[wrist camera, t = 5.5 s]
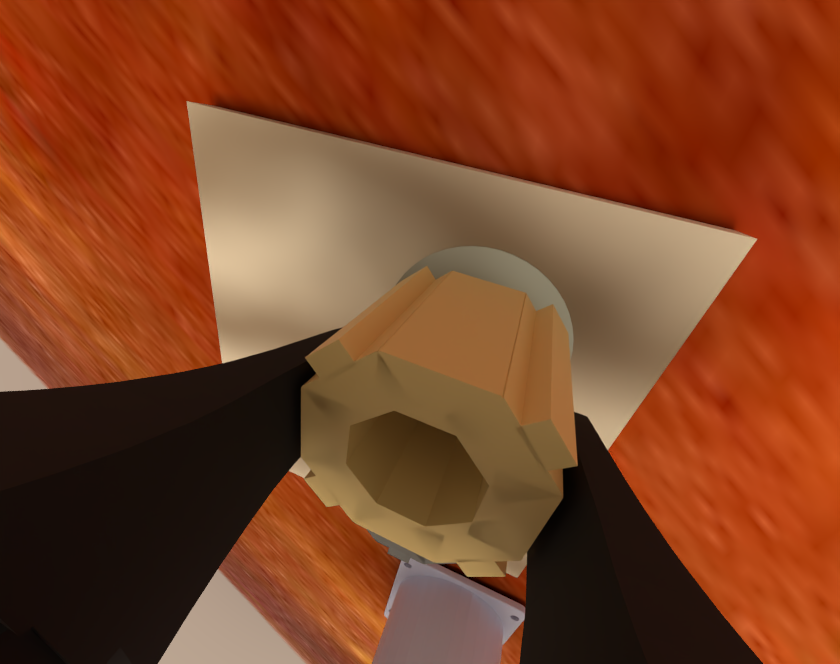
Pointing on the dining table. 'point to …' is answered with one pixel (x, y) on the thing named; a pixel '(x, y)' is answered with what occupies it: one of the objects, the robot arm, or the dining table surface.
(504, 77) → the dining table surface
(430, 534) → the ochre gear
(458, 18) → the dining table surface
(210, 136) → the gear board
